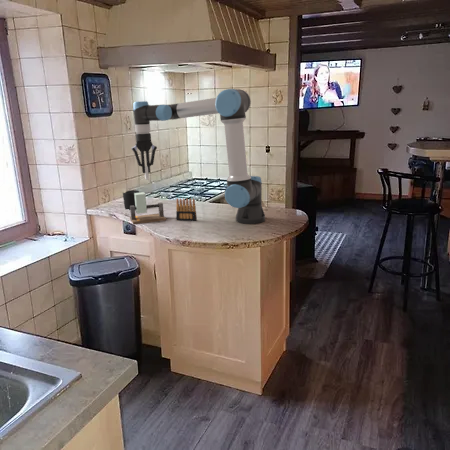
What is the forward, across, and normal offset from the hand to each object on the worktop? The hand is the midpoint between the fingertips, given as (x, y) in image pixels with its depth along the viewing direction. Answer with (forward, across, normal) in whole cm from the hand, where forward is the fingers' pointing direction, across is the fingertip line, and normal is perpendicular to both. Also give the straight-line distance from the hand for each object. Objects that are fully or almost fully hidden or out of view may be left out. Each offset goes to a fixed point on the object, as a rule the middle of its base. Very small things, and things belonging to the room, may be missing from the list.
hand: (146, 179), depth 225 cm
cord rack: (+22, +1, 0) cm, 22 cm away
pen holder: (+22, +5, -31) cm, 38 cm away
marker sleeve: (+17, +4, 0) cm, 18 cm away
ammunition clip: (+22, -17, +11) cm, 30 cm away
